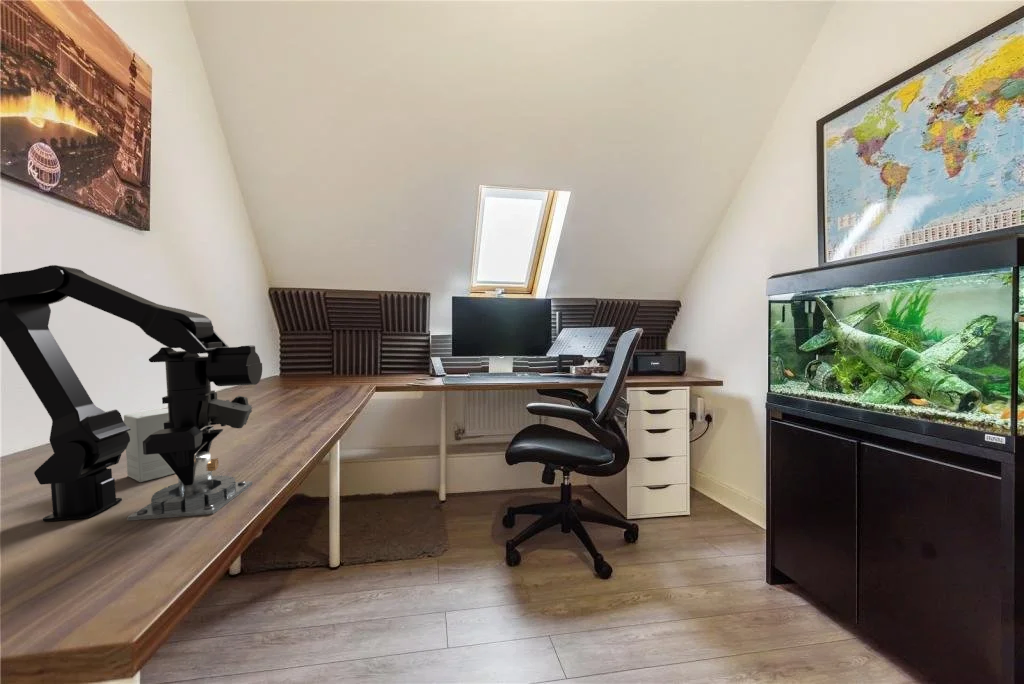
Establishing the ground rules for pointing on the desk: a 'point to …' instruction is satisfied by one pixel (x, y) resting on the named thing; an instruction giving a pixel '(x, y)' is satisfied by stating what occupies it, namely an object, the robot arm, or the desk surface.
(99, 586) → the desk surface
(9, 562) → the desk surface
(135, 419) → the supplement box
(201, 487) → the silver metal cylinder
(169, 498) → the duct flange
